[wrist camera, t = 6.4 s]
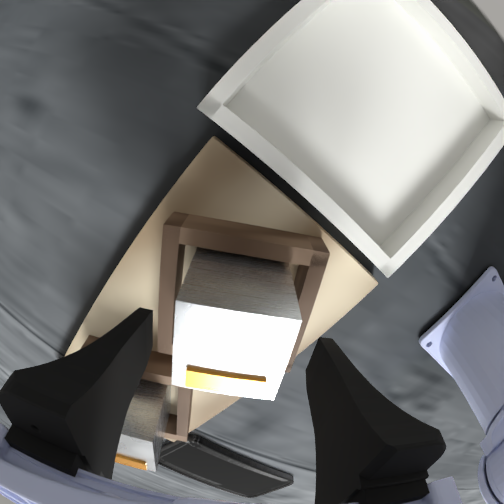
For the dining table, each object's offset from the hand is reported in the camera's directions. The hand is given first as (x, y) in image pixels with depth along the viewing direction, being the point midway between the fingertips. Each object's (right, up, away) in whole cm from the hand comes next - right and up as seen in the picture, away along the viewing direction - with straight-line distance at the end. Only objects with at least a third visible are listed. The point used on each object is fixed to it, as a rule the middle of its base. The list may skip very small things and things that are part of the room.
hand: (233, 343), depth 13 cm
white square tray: (+7, +12, +1) cm, 14 cm away
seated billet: (-7, -6, +8) cm, 12 cm away
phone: (-2, -19, +15) cm, 25 cm away
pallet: (-4, -2, +7) cm, 8 cm away
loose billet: (0, +2, +4) cm, 5 cm away
